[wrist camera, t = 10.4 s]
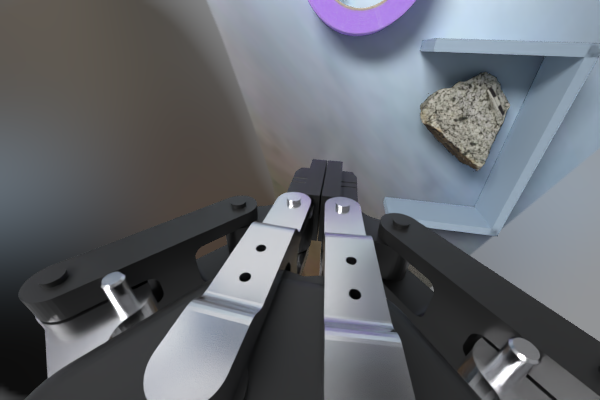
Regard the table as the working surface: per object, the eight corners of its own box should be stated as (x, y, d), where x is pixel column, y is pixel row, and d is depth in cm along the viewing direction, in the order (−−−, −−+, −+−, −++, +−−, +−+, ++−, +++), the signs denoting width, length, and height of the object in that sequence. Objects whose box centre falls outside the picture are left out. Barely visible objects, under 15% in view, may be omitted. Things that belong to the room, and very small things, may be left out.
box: (422, 40, 26) (436, 38, 22) (562, 44, 24) (606, 43, 20) (383, 202, 36) (387, 222, 32) (479, 213, 35) (497, 236, 31)
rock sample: (569, 100, 24) (519, 155, 21) (503, 143, 31) (461, 187, 29) (478, 37, 26) (425, 81, 24) (437, 91, 33) (393, 128, 31)
